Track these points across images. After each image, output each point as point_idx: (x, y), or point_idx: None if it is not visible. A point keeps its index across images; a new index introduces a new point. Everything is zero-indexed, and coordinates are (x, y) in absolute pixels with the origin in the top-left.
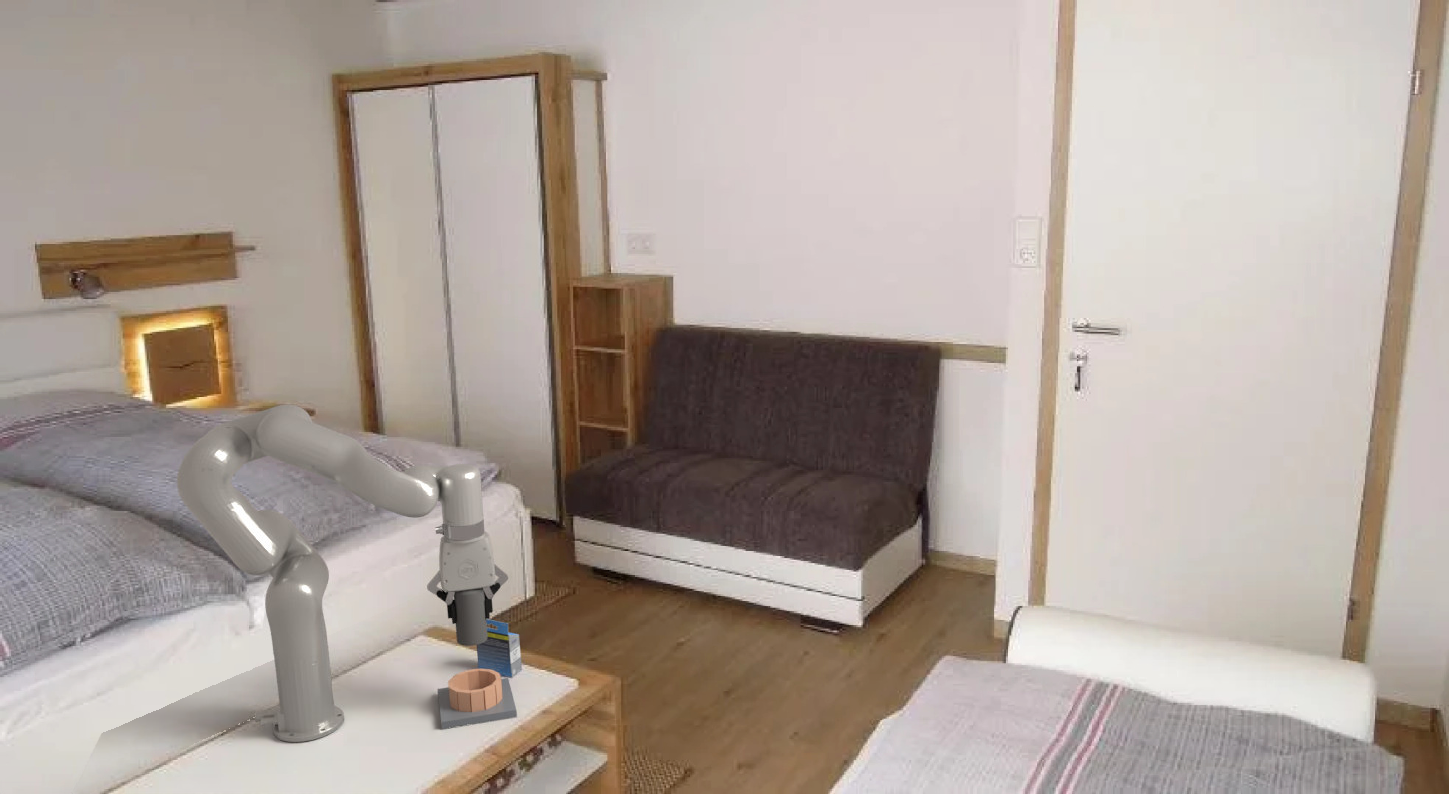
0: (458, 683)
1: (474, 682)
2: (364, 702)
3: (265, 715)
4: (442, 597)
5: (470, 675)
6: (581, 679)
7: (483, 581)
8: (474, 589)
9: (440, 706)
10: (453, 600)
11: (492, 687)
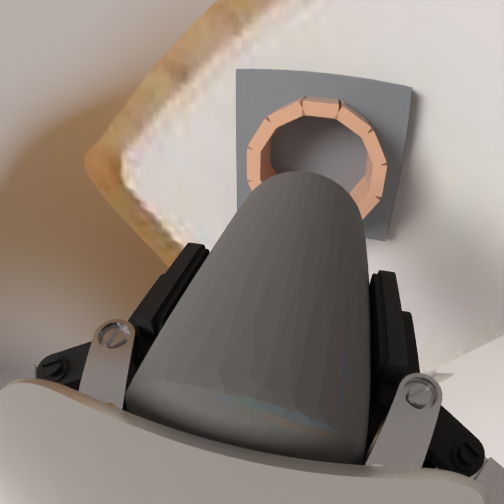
0: None
1: None
2: (491, 270)
3: None
4: (450, 432)
5: None
6: (117, 179)
7: (44, 445)
8: (178, 426)
9: (400, 161)
10: None
11: (275, 112)
